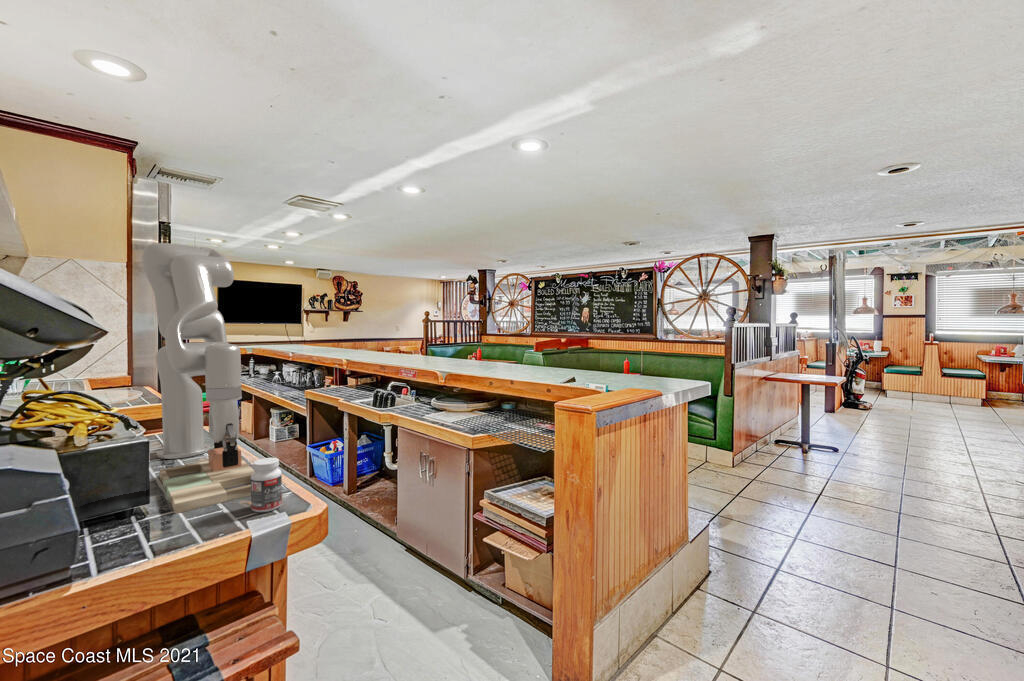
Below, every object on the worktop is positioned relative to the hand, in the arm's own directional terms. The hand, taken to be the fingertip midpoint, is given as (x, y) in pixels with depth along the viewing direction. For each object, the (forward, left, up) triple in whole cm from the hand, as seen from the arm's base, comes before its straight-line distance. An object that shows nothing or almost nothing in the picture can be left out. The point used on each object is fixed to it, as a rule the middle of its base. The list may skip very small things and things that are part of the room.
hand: (226, 461), depth 113 cm
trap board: (+5, -5, -3) cm, 8 cm away
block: (-1, 0, -1) cm, 2 cm away
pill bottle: (+28, +2, -4) cm, 28 cm away
